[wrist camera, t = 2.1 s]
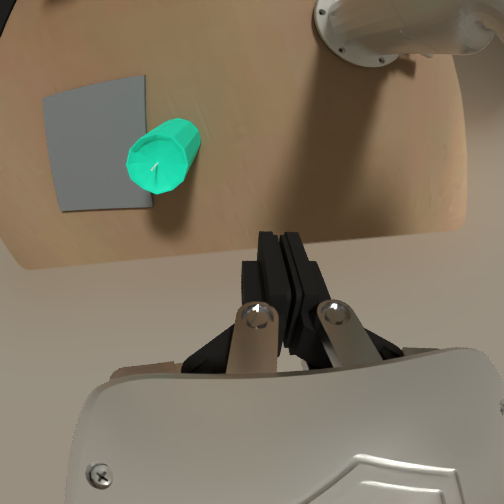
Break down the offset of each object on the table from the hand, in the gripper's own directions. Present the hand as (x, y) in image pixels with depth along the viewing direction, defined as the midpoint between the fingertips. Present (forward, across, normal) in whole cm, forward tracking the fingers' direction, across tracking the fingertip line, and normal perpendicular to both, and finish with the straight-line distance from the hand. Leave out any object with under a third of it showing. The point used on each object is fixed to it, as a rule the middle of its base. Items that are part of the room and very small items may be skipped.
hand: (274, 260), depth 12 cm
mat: (+25, +21, 0) cm, 32 cm away
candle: (+25, +9, 0) cm, 26 cm away
